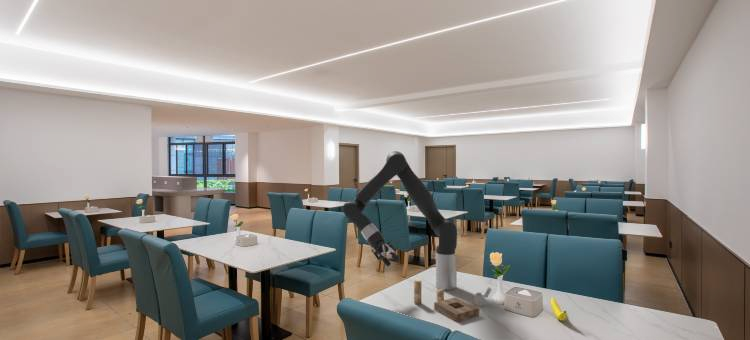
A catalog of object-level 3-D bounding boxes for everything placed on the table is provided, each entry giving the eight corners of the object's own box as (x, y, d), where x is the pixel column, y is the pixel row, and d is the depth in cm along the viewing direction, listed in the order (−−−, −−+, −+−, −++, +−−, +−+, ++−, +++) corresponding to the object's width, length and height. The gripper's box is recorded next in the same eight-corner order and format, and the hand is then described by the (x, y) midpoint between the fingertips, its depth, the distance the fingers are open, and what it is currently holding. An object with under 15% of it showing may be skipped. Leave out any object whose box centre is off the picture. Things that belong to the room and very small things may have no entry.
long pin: (418, 301, 167) (418, 279, 167) (422, 303, 164) (422, 281, 164) (412, 302, 165) (412, 280, 165) (416, 305, 163) (416, 282, 162)
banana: (556, 308, 158) (556, 293, 158) (569, 328, 140) (569, 311, 140) (548, 308, 159) (548, 293, 159) (560, 327, 140) (561, 311, 140)
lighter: (474, 305, 162) (474, 286, 162) (474, 303, 164) (474, 285, 164) (491, 307, 160) (491, 288, 160) (491, 305, 162) (491, 287, 162)
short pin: (440, 298, 171) (440, 288, 170) (445, 300, 168) (445, 290, 168) (435, 299, 169) (435, 289, 169) (439, 302, 166) (439, 292, 166)
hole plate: (455, 304, 164) (455, 297, 164) (479, 315, 152) (479, 308, 151) (434, 309, 158) (434, 302, 158) (456, 322, 146) (456, 314, 146)
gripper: (369, 233, 168) (391, 261, 163) (384, 228, 180) (406, 254, 175) (359, 243, 171) (381, 272, 165) (375, 237, 183) (396, 264, 178)
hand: (393, 263), depth 170 cm, fingers open, 8 cm apart
